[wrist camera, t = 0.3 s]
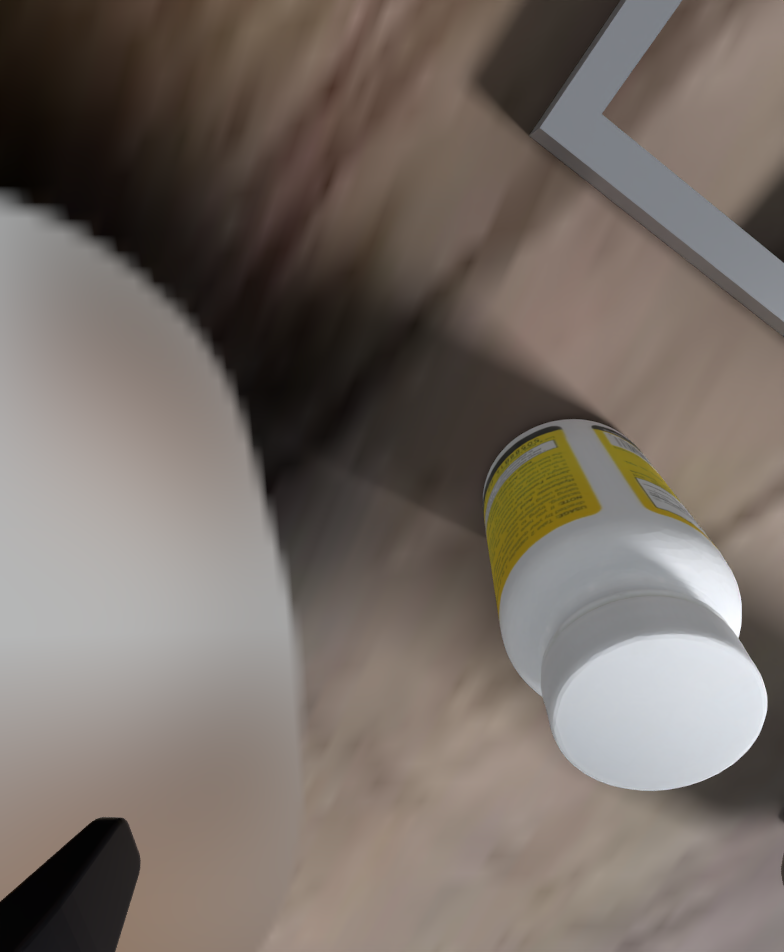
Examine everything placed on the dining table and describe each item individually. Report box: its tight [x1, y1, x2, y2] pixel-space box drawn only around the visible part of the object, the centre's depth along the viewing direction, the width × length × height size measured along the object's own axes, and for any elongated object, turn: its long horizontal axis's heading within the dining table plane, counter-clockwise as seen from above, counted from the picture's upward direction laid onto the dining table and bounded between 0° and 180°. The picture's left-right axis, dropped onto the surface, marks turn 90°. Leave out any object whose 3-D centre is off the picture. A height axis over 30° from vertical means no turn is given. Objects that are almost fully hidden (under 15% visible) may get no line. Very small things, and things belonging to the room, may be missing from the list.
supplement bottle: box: [483, 419, 767, 791], centre depth 16 cm, size 5×5×10 cm
